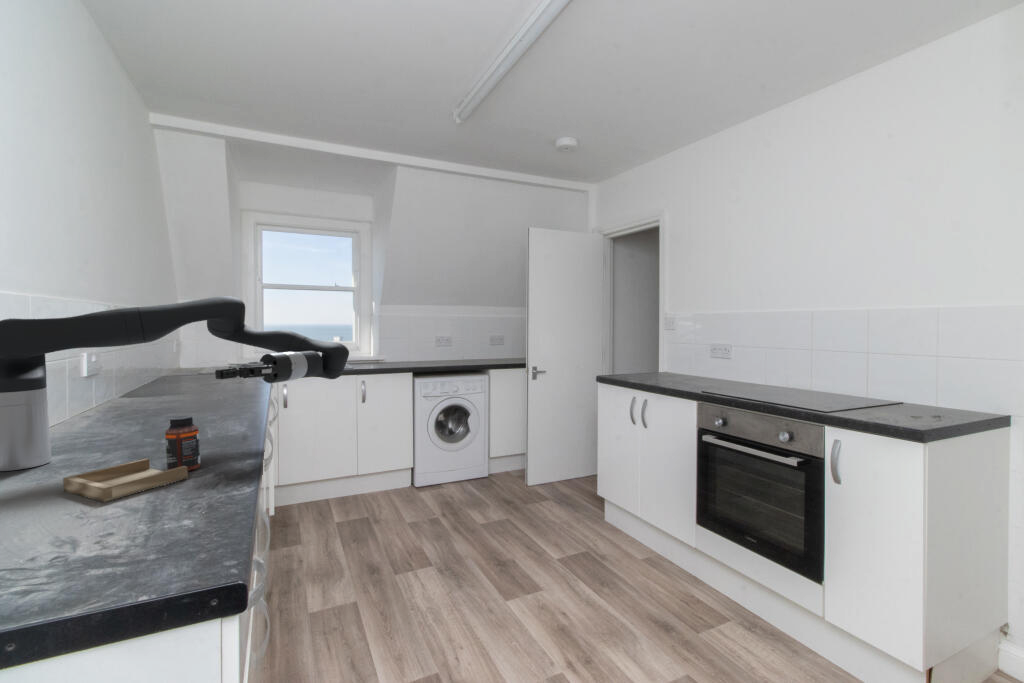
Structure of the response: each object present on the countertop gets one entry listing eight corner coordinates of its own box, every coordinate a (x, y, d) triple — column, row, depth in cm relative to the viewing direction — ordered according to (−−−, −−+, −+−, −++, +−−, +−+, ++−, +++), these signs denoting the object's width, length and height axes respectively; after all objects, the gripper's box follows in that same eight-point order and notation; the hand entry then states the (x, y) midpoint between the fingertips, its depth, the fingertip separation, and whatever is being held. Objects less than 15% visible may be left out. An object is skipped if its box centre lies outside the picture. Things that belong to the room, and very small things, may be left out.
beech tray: (63, 490, 93) (63, 477, 93) (146, 470, 105) (146, 458, 105) (104, 502, 86) (103, 488, 86) (187, 478, 98) (187, 466, 98)
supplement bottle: (207, 465, 107) (204, 414, 107) (186, 474, 101) (183, 419, 101) (182, 465, 108) (179, 414, 108) (160, 474, 102) (157, 420, 102)
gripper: (266, 352, 129) (198, 357, 114) (300, 352, 123) (234, 358, 108) (267, 380, 130) (200, 390, 114) (302, 382, 124) (236, 392, 108)
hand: (217, 374), depth 111 cm, fingers closed
